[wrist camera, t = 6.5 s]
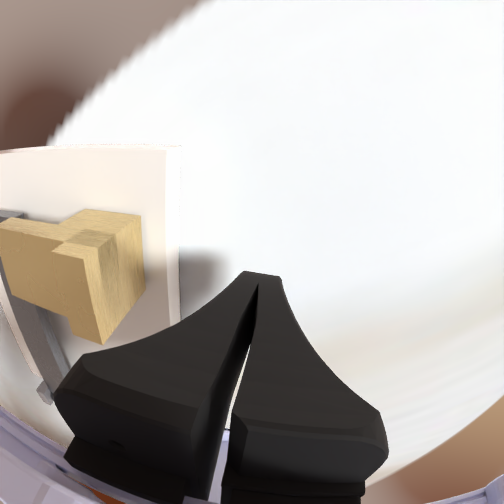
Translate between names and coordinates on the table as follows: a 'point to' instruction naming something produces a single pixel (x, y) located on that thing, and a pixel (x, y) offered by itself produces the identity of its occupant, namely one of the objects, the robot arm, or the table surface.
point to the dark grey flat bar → (36, 330)
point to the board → (104, 199)
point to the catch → (77, 267)
